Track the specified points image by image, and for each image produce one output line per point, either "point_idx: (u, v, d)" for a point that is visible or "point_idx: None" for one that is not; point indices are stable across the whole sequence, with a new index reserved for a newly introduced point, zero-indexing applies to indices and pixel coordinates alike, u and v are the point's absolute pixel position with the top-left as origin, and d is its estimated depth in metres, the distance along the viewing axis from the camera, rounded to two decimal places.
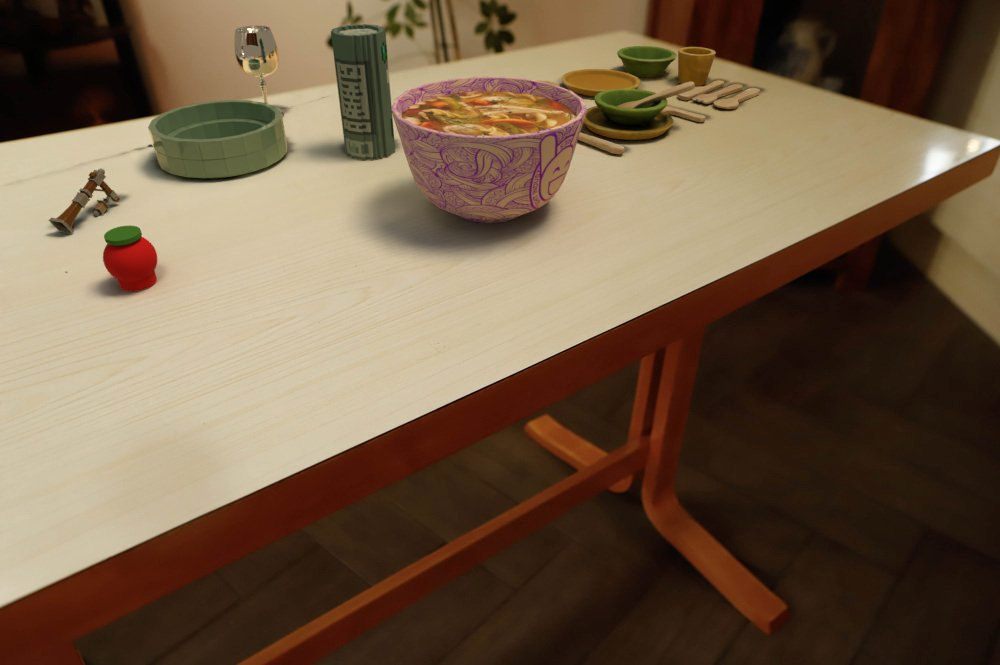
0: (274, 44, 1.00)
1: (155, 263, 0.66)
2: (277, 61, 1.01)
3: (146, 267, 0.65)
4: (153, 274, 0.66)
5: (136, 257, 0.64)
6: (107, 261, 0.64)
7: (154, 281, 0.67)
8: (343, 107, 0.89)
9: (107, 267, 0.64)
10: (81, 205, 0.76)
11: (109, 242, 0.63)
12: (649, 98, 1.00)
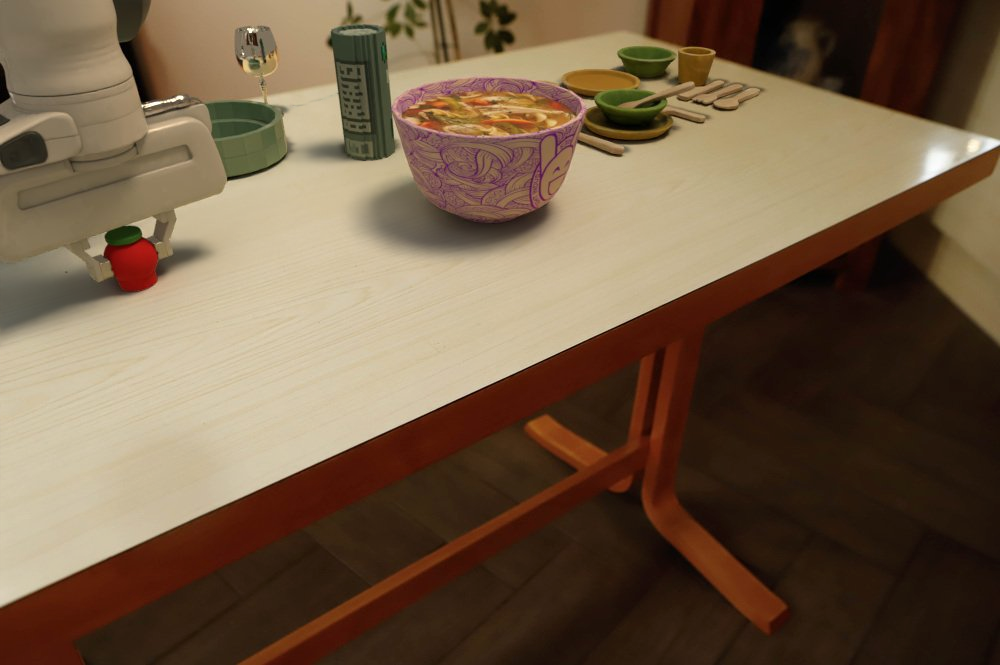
0: (274, 44, 1.00)
1: (155, 263, 0.66)
2: (277, 61, 1.01)
3: (147, 267, 0.65)
4: (153, 274, 0.66)
5: (136, 257, 0.64)
6: None
7: (154, 281, 0.67)
8: (343, 107, 0.89)
9: None
10: None
11: (109, 242, 0.63)
12: (649, 99, 1.00)
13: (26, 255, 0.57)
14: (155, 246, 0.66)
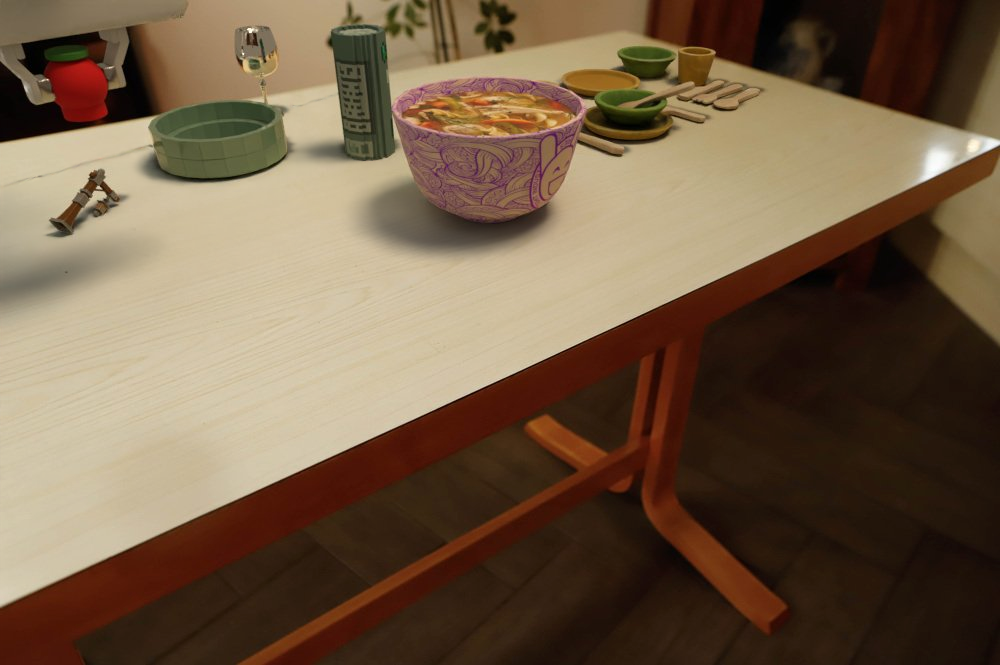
0: (274, 44, 1.00)
1: (104, 90, 0.58)
2: (277, 61, 1.01)
3: (93, 91, 0.57)
4: (103, 105, 0.58)
5: (81, 76, 0.56)
6: None
7: (104, 113, 0.59)
8: (343, 107, 0.89)
9: None
10: (81, 205, 0.76)
11: (49, 57, 0.55)
12: (649, 98, 1.00)
13: None
14: (104, 71, 0.58)
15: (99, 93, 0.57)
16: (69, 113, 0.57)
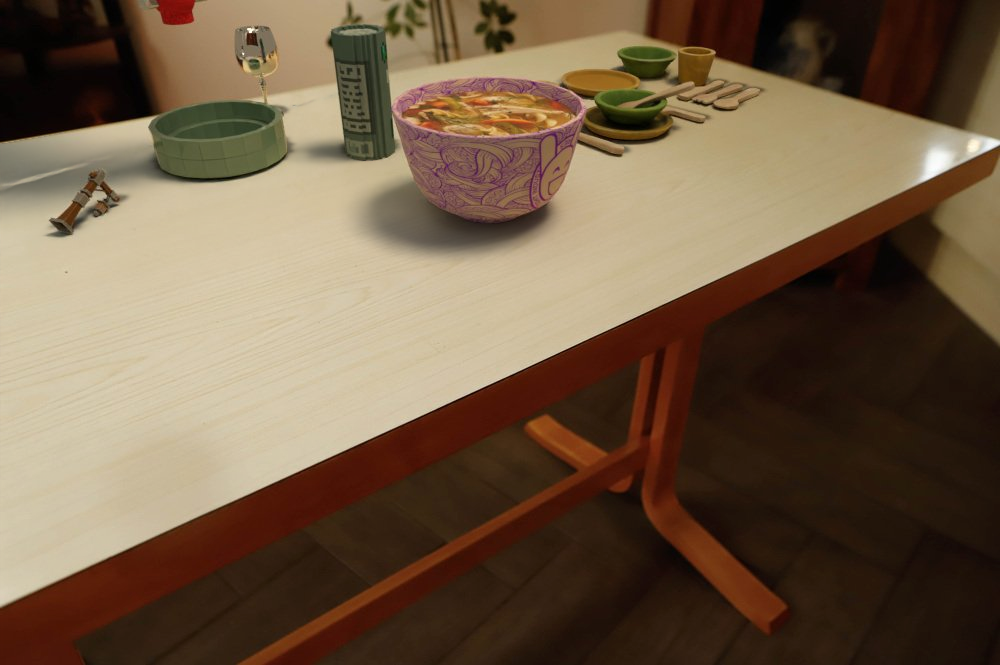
0: (274, 44, 1.00)
1: (193, 1, 0.77)
2: (277, 61, 1.01)
3: (186, 1, 0.76)
4: (191, 13, 0.77)
5: None
6: None
7: (192, 20, 0.78)
8: (343, 107, 0.89)
9: None
10: (81, 205, 0.76)
11: None
12: (649, 98, 1.00)
13: None
14: None
15: (190, 3, 0.76)
16: (167, 18, 0.76)
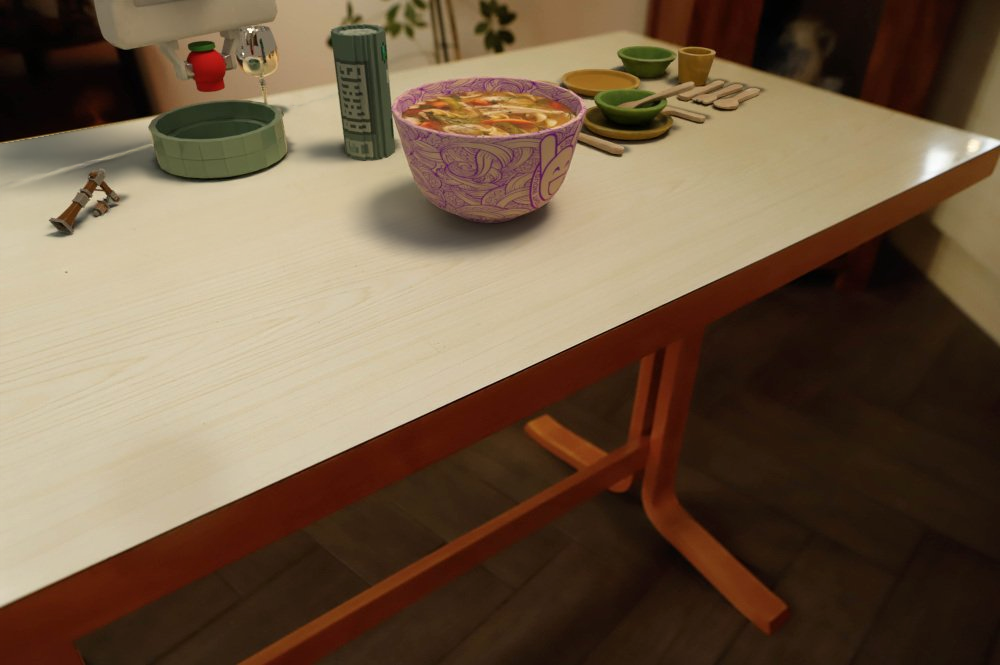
0: (274, 44, 1.00)
1: (224, 70, 0.86)
2: (277, 61, 1.01)
3: (219, 71, 0.85)
4: (222, 80, 0.87)
5: (211, 61, 0.84)
6: None
7: (223, 86, 0.87)
8: (343, 107, 0.89)
9: None
10: (81, 205, 0.76)
11: (192, 48, 0.83)
12: (649, 99, 1.00)
13: (137, 44, 0.78)
14: (224, 58, 0.86)
15: (222, 72, 0.86)
16: (202, 86, 0.86)
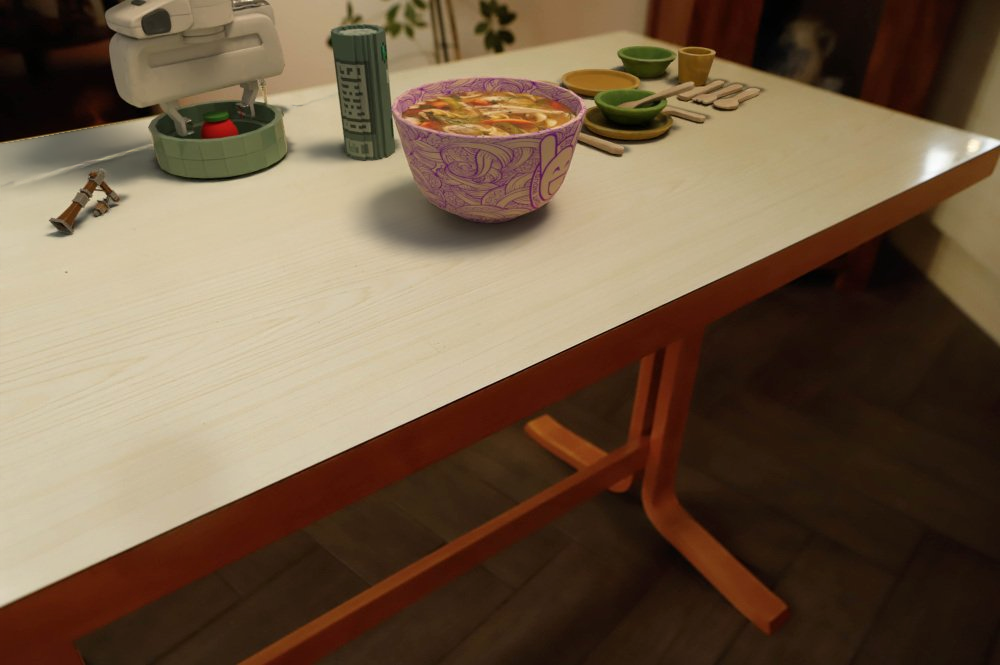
0: None
1: None
2: None
3: None
4: None
5: (225, 131, 0.89)
6: (205, 133, 0.89)
7: None
8: (343, 107, 0.89)
9: (204, 138, 0.89)
10: (81, 205, 0.76)
11: (207, 119, 0.88)
12: (649, 99, 1.00)
13: (151, 102, 0.81)
14: (243, 108, 0.91)
15: None
16: None
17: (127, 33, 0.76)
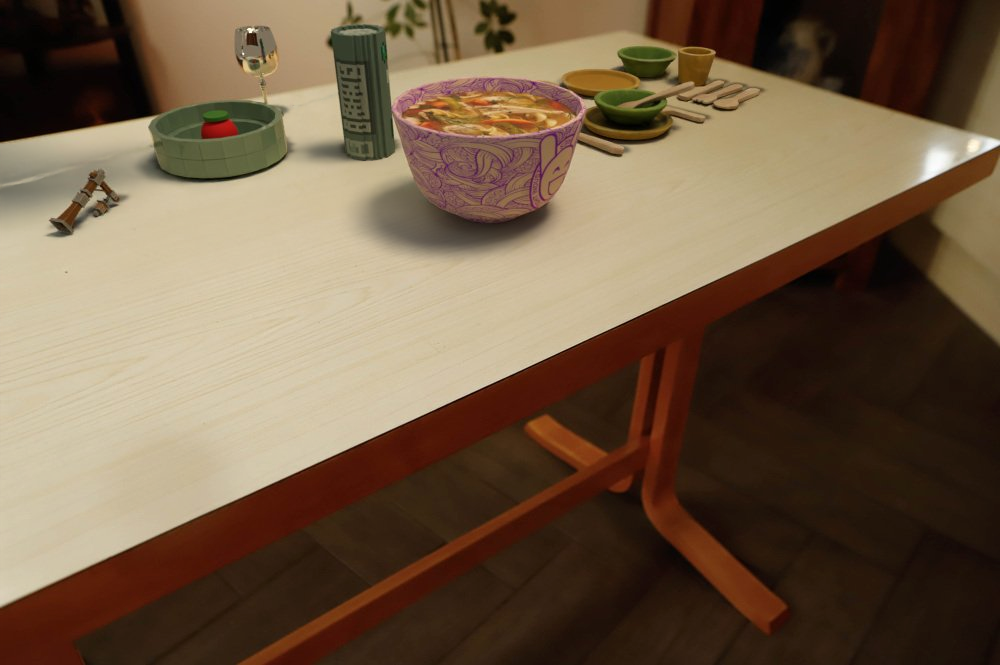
0: (274, 44, 1.00)
1: None
2: (277, 61, 1.01)
3: None
4: None
5: (225, 131, 0.89)
6: (205, 133, 0.89)
7: None
8: (343, 107, 0.89)
9: (204, 138, 0.89)
10: (81, 205, 0.76)
11: (207, 119, 0.88)
12: (649, 98, 1.00)
13: None
14: None
15: None
16: None
17: None
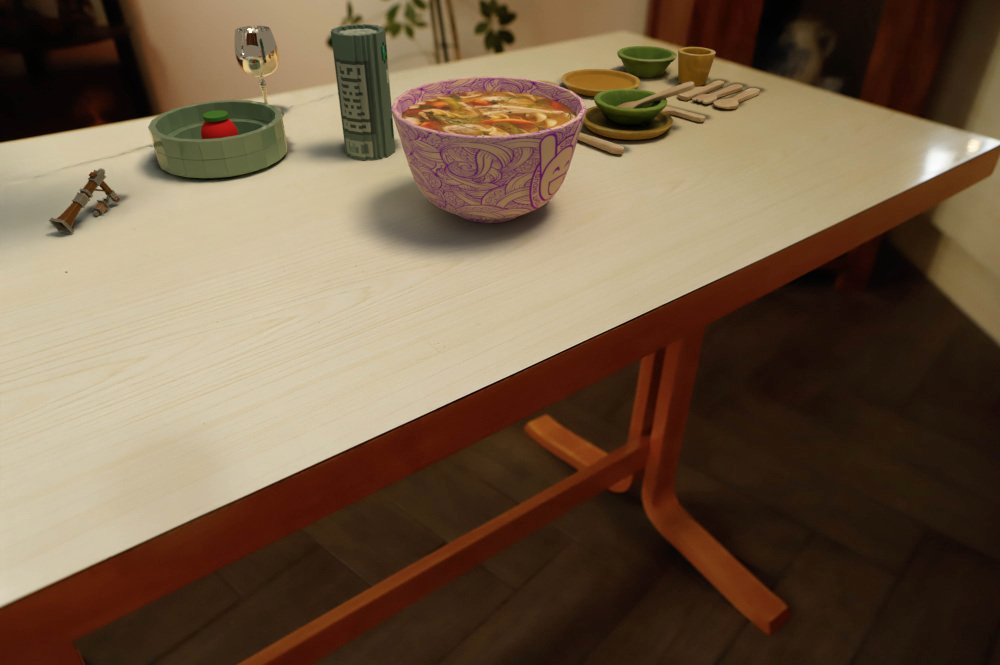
0: (274, 44, 1.00)
1: None
2: (277, 61, 1.01)
3: None
4: None
5: (225, 131, 0.89)
6: (205, 133, 0.89)
7: None
8: (343, 107, 0.89)
9: (204, 138, 0.89)
10: (81, 205, 0.76)
11: (207, 119, 0.88)
12: (649, 98, 1.00)
13: None
14: None
15: None
16: None
17: None
